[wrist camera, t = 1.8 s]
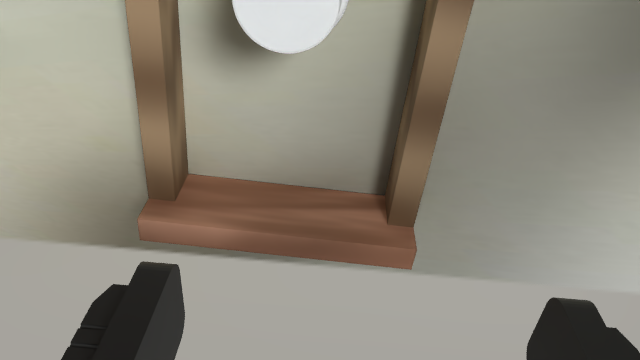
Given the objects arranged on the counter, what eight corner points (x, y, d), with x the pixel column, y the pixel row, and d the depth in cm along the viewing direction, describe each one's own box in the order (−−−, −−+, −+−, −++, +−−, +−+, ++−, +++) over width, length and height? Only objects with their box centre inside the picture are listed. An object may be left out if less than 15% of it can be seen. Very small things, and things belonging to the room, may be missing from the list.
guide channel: (132, -158, 23) (84, -157, 19) (487, -116, 23) (516, -106, 19) (166, 195, 34) (140, 245, 30) (402, 221, 34) (410, 274, 30)
